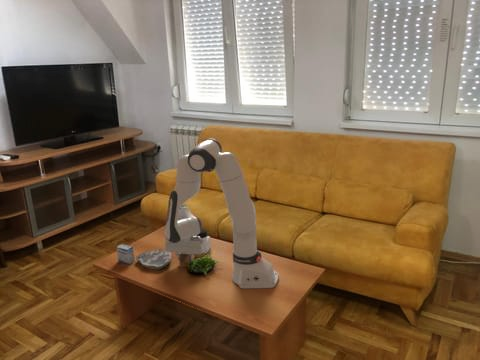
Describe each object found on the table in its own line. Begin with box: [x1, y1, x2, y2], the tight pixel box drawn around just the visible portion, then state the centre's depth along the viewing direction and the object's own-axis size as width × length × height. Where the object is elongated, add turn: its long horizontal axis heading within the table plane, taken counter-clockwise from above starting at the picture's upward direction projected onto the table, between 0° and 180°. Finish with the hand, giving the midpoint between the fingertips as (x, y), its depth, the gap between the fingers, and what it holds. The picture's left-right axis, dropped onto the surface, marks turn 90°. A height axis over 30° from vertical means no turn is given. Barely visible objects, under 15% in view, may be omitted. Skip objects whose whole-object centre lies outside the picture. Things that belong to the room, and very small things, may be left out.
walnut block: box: [179, 253, 192, 268], centre depth 216 cm, size 5×5×6 cm
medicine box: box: [116, 243, 136, 265], centre depth 221 cm, size 8×4×9 cm, turn 62°
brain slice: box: [135, 248, 172, 271], centre depth 220 cm, size 20×17×3 cm
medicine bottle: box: [195, 228, 212, 254], centre depth 228 cm, size 7×7×12 cm
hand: (185, 259), depth 216 cm, fingers closed on walnut block, 5 cm apart
